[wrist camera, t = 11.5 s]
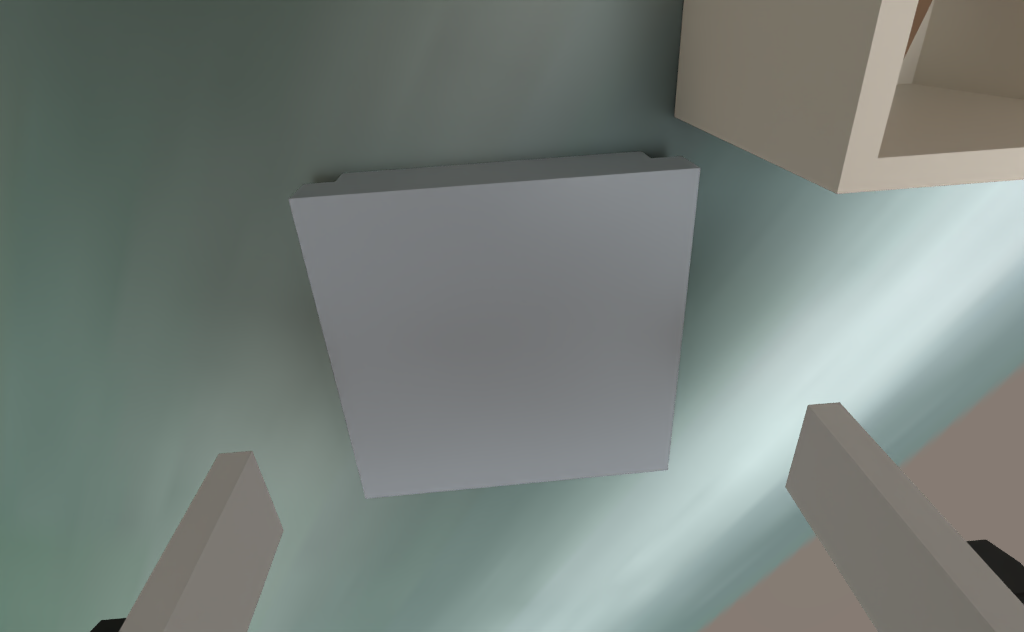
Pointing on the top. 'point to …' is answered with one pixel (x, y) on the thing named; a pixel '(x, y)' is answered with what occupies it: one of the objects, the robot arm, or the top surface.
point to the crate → (860, 88)
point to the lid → (503, 315)
